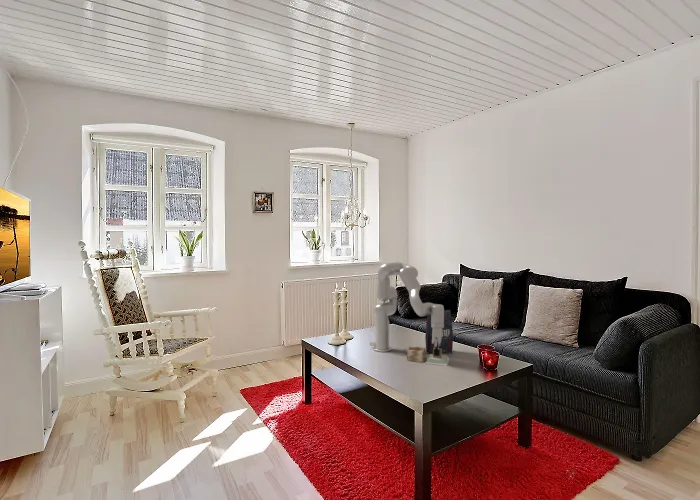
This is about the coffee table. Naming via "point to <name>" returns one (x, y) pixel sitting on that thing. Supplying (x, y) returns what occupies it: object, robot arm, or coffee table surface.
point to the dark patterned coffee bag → (446, 334)
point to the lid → (437, 358)
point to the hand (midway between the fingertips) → (437, 353)
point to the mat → (437, 363)
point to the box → (416, 354)
